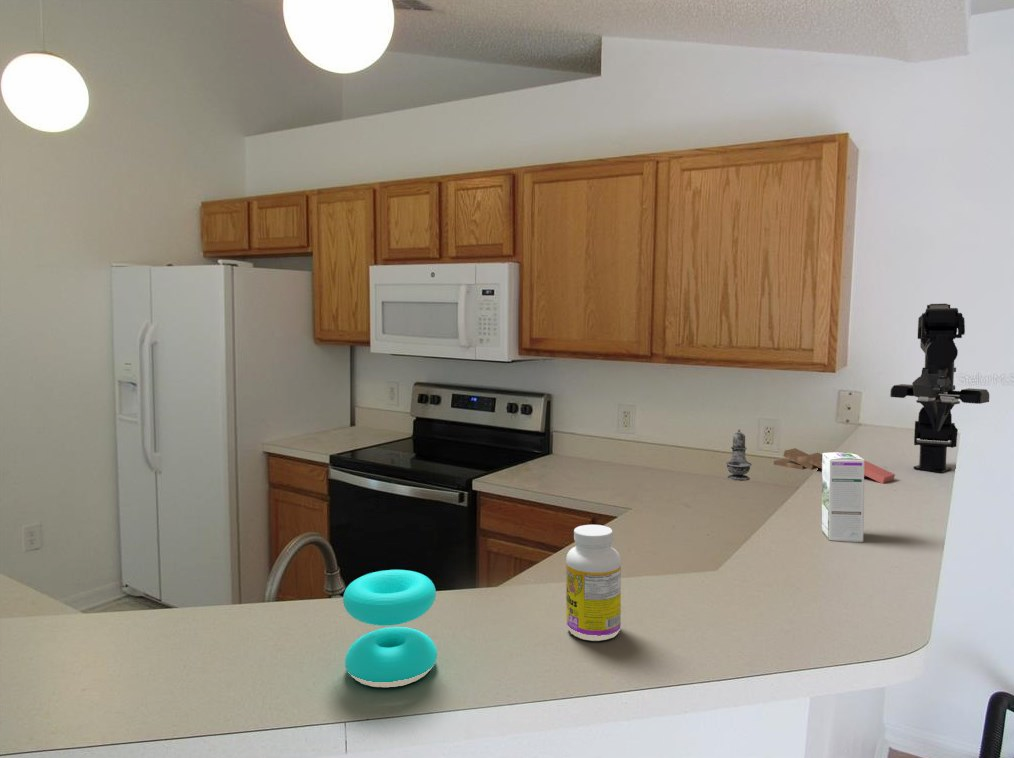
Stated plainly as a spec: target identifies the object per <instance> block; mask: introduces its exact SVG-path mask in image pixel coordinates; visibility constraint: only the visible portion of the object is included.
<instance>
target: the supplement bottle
mask: <svg viewBox="0 0 1014 758" xmlns="http://www.w3.org/2000/svg"><path fill="white" fill-rule="evenodd" d="M613 534H614V532H613V530H612V528H611V527H609V526H605V525H601V524H584V525H579V526H577V527H575V528H574V529H573V539H574V542H575V546H573V547H572V548H570V549H569V551H568V552H567V554H566V559H565V561H566V562H565V564H566V567H565V571H566V583H565V585H566V590H565V592H566V595H565V596H566V597H565V598H566V602H565V603H566V604H565V605H566V607H565V608H566V609H565V610H566V616H565V617H566V626H567V625H568V626H569V627H570V628H571V629H573V630H575V631H577V632H580V633H582V634H586V635H597V636H601V635H610V634H613V633H615V632H617V631H618V630H619V629H620V630H621V628H620V627H622V626H621V625H622V624H621V620H622V619H621V618H622V617H621V614H622V613H621V612H622V610H621V607H622V604H621V601H622V600H621V598H622V597H621V594H622V593H621V592H622V591H621V590H622V587H621V586H622V582H621V580H622V579H621V578H622V577H621V575H622V572H621V571H622V566H621V565H622V562H621V561H622V559H621V555H620V553H619V552H618V550H616V549H615V548H614V547H612V543H613V541H614V535H613Z"/></svg>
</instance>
